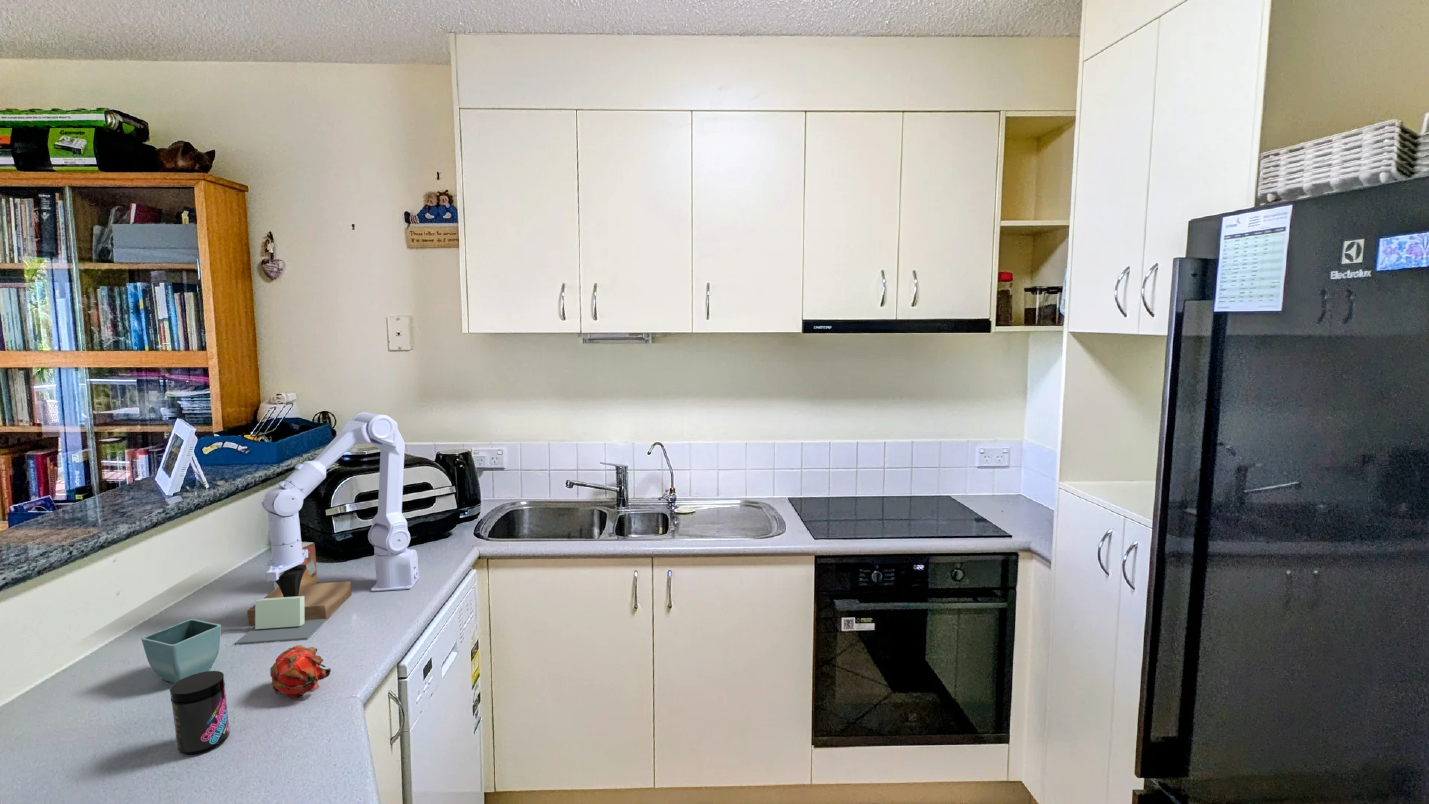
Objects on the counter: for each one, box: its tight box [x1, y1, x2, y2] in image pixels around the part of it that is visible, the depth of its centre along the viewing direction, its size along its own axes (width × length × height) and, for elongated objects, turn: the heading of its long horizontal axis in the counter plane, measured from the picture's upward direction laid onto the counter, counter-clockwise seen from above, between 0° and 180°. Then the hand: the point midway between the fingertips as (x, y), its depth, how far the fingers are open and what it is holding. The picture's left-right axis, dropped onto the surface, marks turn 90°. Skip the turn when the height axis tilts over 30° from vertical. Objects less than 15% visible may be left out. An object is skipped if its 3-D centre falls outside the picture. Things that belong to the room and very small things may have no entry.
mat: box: [234, 619, 327, 646], centre depth 143 cm, size 14×9×1 cm, turn 98°
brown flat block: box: [246, 580, 352, 627], centre depth 154 cm, size 16×14×4 cm
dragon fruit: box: [269, 644, 332, 700], centre depth 119 cm, size 8×8×12 cm
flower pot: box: [141, 618, 222, 684], centre depth 125 cm, size 9×9×9 cm
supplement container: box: [169, 670, 231, 756], centre depth 104 cm, size 7×7×10 cm
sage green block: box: [254, 596, 305, 629], centre depth 145 cm, size 9×6×2 cm
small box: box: [270, 541, 319, 590], centre depth 167 cm, size 8×6×10 cm
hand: (291, 599), depth 149 cm, fingers closed
